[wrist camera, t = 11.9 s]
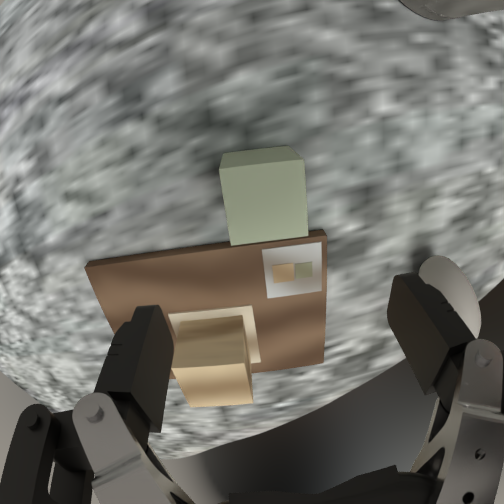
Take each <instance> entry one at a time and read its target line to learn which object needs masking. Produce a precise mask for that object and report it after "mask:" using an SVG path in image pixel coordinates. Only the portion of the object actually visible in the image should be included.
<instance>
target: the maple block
mask: <svg viewBox="0 0 504 504" xmlns="http://www.w3.org/2000/svg"><path fill="white" fill-rule="evenodd" d="M171 369H172V371H173V373H174V375H175V377H176V379H177V381H178V384H179V386H180V388H181V390H182V392H183V394H184V396H185V398H186V399H187V401H188V403H189V405H190V407H207V406H225V405H238V404H249V403H253V390H252V374H251V358H250V352H249V347H248V342H247V337H246V331H245V326H244V321H243V315H239V316H230V317H221V318H211V319H201V320H191V321H181V322H180V327H179V331H178V336H177V341H176V346H175V351H174V356H173V362H172V367H171Z"/></svg>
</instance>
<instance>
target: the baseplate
mask: <svg viewBox="0 0 504 504" xmlns="http://www.w3.org/2000/svg"><path fill="white" fill-rule="evenodd" d="M84 268H85V271H86V273H87V276H88V278H89V280H90V283H91V285H92V287H93V290H94V292H95V294H96V297H97V299H98V301H99V303H100V305H101V308H102V310H103V312H104V314H105V316H106V318H107V320H108V322H109V324H110V326H111V328H112V330H113V332H114V334H115V333H116V331H117V330H118V329H119V328H120V327H121V326H122V324H123V323H124V322H129V321H131V319H132V316H133V314H134V311H135V309H136V307H137V306H146V305H159V306H160V307H161V309H162V312H163V315H164V317H165V320H166V323H167V325H168V328H169V330H170V333H171V335H172V339H173V344H174V351H175V346H176V341H177V336H178V331H179V327H180V322H181V321H191V320H201V319H211V318H221V317H230V316H239V315H243V321H244V326H245V331H246V337H247V342H248V347H249V352H250V358H251V373H258V372H267V371H275V370H282V369H289V368H296V367H302V366H309V365H314V364H320V363H323V361H324V344H325V324H326V292H327V235H326V233H325V232H324V230H316V231H308V236H304V237H296V238H288V239H280V240H272V241H264V242H256V243H248V244H240V245H232V246H231V243H230V242H223V243H215V244H208V245H201V246H193V247H186V248H179V249H171V250H164V251H157V252H150V253H143V254H136V255H129V256H122V257H115V258H109V259H102V260H95V261H89V262H88V264H87V265H86V266H85V267H84ZM173 356H174V354H173ZM172 362H173V360H172ZM171 367H172V365H171ZM169 379H176V377H175V375H174V373H173V371H172V369H171V371H170V377H169Z"/></svg>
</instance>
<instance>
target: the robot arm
mask: <svg viewBox="0 0 504 504" xmlns="http://www.w3.org/2000/svg"><path fill="white" fill-rule="evenodd" d="M400 1H401V2H402V3H403V4H404V5H405V6H407V7H408V8H410V9H411V10H412V11H414V12H415V13H417V14H419V15H421V16H423V17H426V18H428V19H431V20H437V21H442V20H449V19H455V18H460V17H463V16H468V15H473V14H479V13H485V12H491V11H498V10H504V0H400ZM387 318H388V323H389V325H390V327H391V329H392V331H393V333H394V335H395V337H396V339H397V341H398V342H399V344H400V346H401V348H402V350H403V352H404V354H405V356H406V358H407V360H408V362H409V364H410V366H411V368H412V370H413V372H414V374H415V376H416V378H417V380H418V382H419V384H420V386H421V388H422V390H423V393H424V395H428V394H431V393H434V392H437V394H438V396H439V397H438V399H437V401H436V404H435V408H434V411H433V415H432V418H431V422H430V426H429V429H428V432H427V435H426V438H425V441H424V445H423V447H422V449H421V452H420V453H419V455H418V456H417V458H416V460H415V462H414V464H413V466H412V468H411V470H410V472H398V471H397V468H396V465H393V466H390V467H387V468H383V469H380V470H377V471H373V472H370V473H366V474H363V475H359V476H356V477H354V478H352V479H350V480H348V481H346V482H344V483H342V484H340V485H338V486H335V487H333V488H331V489H329V490H326V491H324V492H322V493H319V494H300V493H288V492H278V491H263V492H249V493H248V492H247V493H229V500H228V501H225V502H221V503H218V504H494V500H495V496H496V493H497V489H498V485H499V481H500V476H501V471H502V467H503V462H504V351H500V350H499V348H498V347H497V346H496V345H494V344H493V343H492V342H490V341H487V340H483V339H476V338H475V336H474V335H473V334H472V332H471V331H470V329H469V328H468V327H467V325H466V324H465V323H464V321H463V320H462V318H461V317H460V316H459V315H458V313H457V312H456V311H454V308H453V307H452V305H451V304H450V303H448V300H447V299H446V298H445V296H444V295H443V294H442V293H441V291H439V290H438V289H436V288H435V287H433V286H432V285H430V284H425V282H424V281H423V280H422V279H421V277H420V276H419V275H418V274H417V273H416V272H411V273H406V274H400V275H396V276H395V277H394V279H393V283H392V288H391V293H390V299H389V303H388V308H387ZM107 354H108V356H106V359H105V361H104V364H103V367H102V370H101V373H100V375H99V378H98V381H97V384H96V387H95V390H94V392H93V393H91V394H88V395H86V396H84V397H83V398H81V399H80V400H79V401H78V402H77V404H76V405H75V407H74V409H73V410H69V411H63V412H58V413H51V412H50V411H49V410H48V408H47V407H45V406H44V405H42V404H33V405H31V406H29V407H27V408H26V409H25V410H24V411H23V412H22V413H21V415H20V417H19V420H18V423H17V425H16V428H15V432H14V435H13V438H12V441H11V444H10V448H9V451H8V455H7V459H6V463H5V466H4V470H3V474H2V478H1V483H0V504H91V497H92V489H93V490H94V492H95V494H96V496H97V498H98V500H99V502H100V504H195V503H194V501H193V500H192V499H191V498H190V497H189V496H188V495H187V494H186V493H185V492H184V491H183V490H182V489H181V487H180V486H179V485H178V484H177V483H176V481H175V480H174V479H173V477H172V476H171V475H170V473H169V472H168V470H167V469H166V468H165V466H164V465H163V463H162V462H161V460H160V459H159V458H158V456H157V455H156V453H155V452H154V450H153V449H152V447H151V446H150V444H149V443H148V437H149V432H155V433H161V428H162V421H163V414H164V408H165V401H166V395H167V389H168V383H169V377H170V371H171V365H172V360H173V354H174V344H173V339H172V335H171V333H170V330H169V328H168V325H167V323H166V320H165V317H164V315H163V312H162V309H161V307H160V306H159V305H146V306H137V307H136V309H135V311H134V314H133V316H132V319H131V321H129V322H124V323H123V324H122V326H121V327H120V328H119V329H118V330H117V331H116V333H115V335H114V338H113V340H112V343H111V346H110V348H109V351H108V353H107ZM53 462H55V467H54V472H53V477H52V482H51V489H50V494H49V493H48V483H49V477H50V472H51V468H52V463H53ZM94 474H95V478H94Z"/></svg>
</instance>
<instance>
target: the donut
mask: <svg viewBox="0 0 504 504" xmlns="http://www.w3.org/2000/svg"><path fill="white" fill-rule="evenodd" d="M419 276H420V277H421V279H422V280H423V281H424V282H425V284H430V285H432V286H433V287H435V288H436V289H438V290H439V291H441V293H442V294H443V295H444V296H445V298H446V299H447V300H448V303H450V304H451V305H452V307H453V308H454V311H456V312H457V313H458V315H459V316H460V317H461V318H462V320H463V321H464V323H465V324H466V325H467V327H468V328H469V329H470V331H471V332H472V334H473V335H474V336H475V338H476V339H477V337H478V335H479V331H480V326H481V314H480V309H479V305H478V301H477V297H476V295H475V292H474V290H473V288H472V286H471V284H470V282H469V280H468V279H467V277H466V275H465V274H464V273H463V272H462V270H461V269H460V268H459V267H458V266H457V265H456V264H455V263H454V262H453V261H451V260H450V259H449V258H446V257H443V256H432V257H430V258H428V259H427V260H426V261H425V262H423V264H422V265H421V267H420V270H419Z"/></svg>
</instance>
